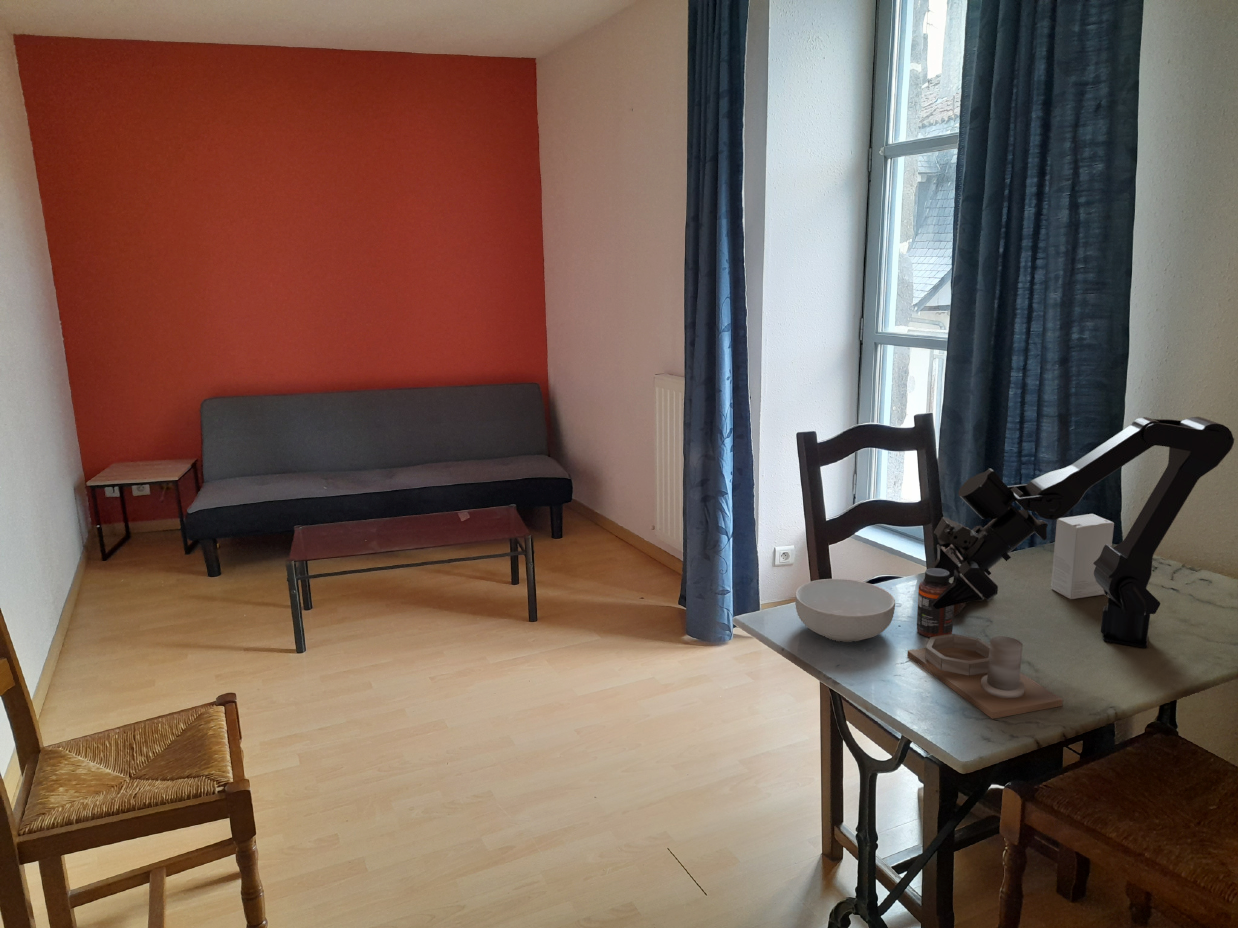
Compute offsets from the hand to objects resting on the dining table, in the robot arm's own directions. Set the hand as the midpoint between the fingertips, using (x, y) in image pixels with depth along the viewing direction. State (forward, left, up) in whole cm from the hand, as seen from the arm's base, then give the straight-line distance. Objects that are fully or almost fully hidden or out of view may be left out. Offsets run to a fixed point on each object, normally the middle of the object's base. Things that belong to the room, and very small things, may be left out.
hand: (928, 596), depth 152 cm
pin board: (-11, +14, -7) cm, 19 cm away
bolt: (-4, -17, -7) cm, 19 cm away
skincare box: (-22, -32, -7) cm, 39 cm away
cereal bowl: (+13, +6, -7) cm, 16 cm away
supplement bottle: (-1, -1, -7) cm, 7 cm away
